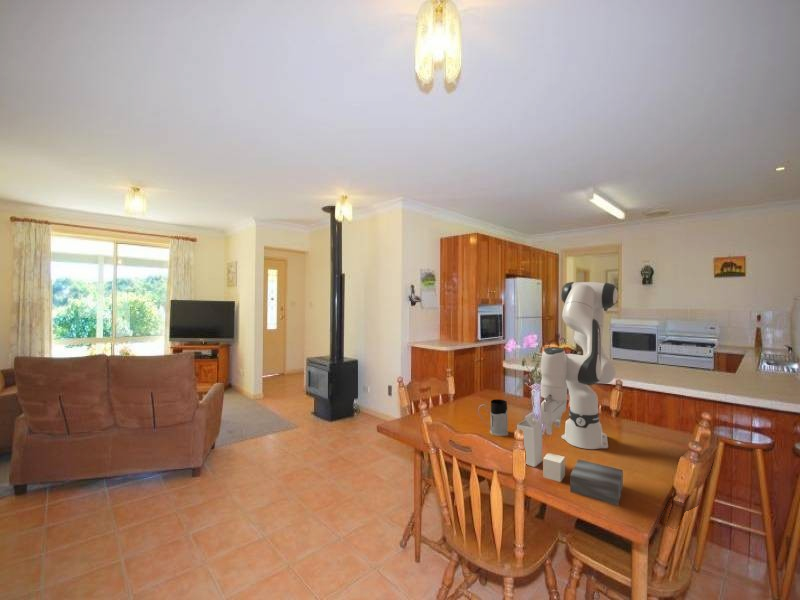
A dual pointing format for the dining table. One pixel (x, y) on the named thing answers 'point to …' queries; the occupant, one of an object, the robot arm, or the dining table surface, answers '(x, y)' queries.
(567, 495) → the dining table surface
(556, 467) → the ivory block
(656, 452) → the dining table surface
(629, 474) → the dining table surface
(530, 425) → the milk carton
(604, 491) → the slate box
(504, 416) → the grey mug
